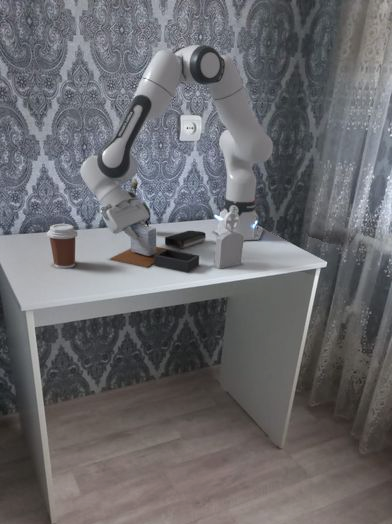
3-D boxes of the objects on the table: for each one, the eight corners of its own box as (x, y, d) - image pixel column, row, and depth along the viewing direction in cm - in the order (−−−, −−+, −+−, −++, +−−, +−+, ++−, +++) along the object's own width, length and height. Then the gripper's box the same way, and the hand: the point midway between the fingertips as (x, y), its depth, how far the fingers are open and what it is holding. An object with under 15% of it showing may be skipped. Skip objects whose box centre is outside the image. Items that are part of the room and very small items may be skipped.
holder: (165, 258, 165) (166, 248, 164) (198, 265, 161) (199, 255, 160) (154, 265, 159) (154, 255, 157) (188, 272, 155) (188, 262, 153)
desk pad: (140, 244, 178) (140, 243, 177) (175, 251, 173) (175, 250, 173) (110, 259, 161) (110, 258, 161) (147, 267, 157) (147, 266, 157)
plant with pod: (137, 237, 186) (137, 182, 176) (126, 229, 194) (125, 176, 185) (156, 235, 189) (157, 181, 179) (145, 227, 198) (145, 176, 188)
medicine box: (156, 253, 166) (156, 228, 162) (148, 256, 163) (148, 231, 159) (138, 248, 170) (138, 223, 166) (130, 251, 167) (129, 226, 162)
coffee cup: (47, 261, 157) (44, 223, 151) (76, 258, 160) (73, 222, 154) (52, 270, 150) (48, 231, 144) (82, 268, 153) (80, 229, 147)
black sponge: (180, 251, 173) (181, 241, 172) (162, 246, 178) (162, 236, 176) (207, 242, 185) (208, 232, 183) (189, 237, 189) (190, 228, 188)
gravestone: (240, 264, 165) (246, 209, 156) (219, 268, 160) (223, 212, 151) (235, 261, 167) (240, 208, 158) (214, 266, 162) (218, 210, 153)
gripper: (103, 202, 153) (131, 238, 154) (137, 192, 169) (161, 224, 171) (92, 214, 156) (119, 249, 158) (126, 203, 173) (150, 235, 174)
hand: (141, 236), depth 164 cm, fingers closed on medicine box, 5 cm apart
